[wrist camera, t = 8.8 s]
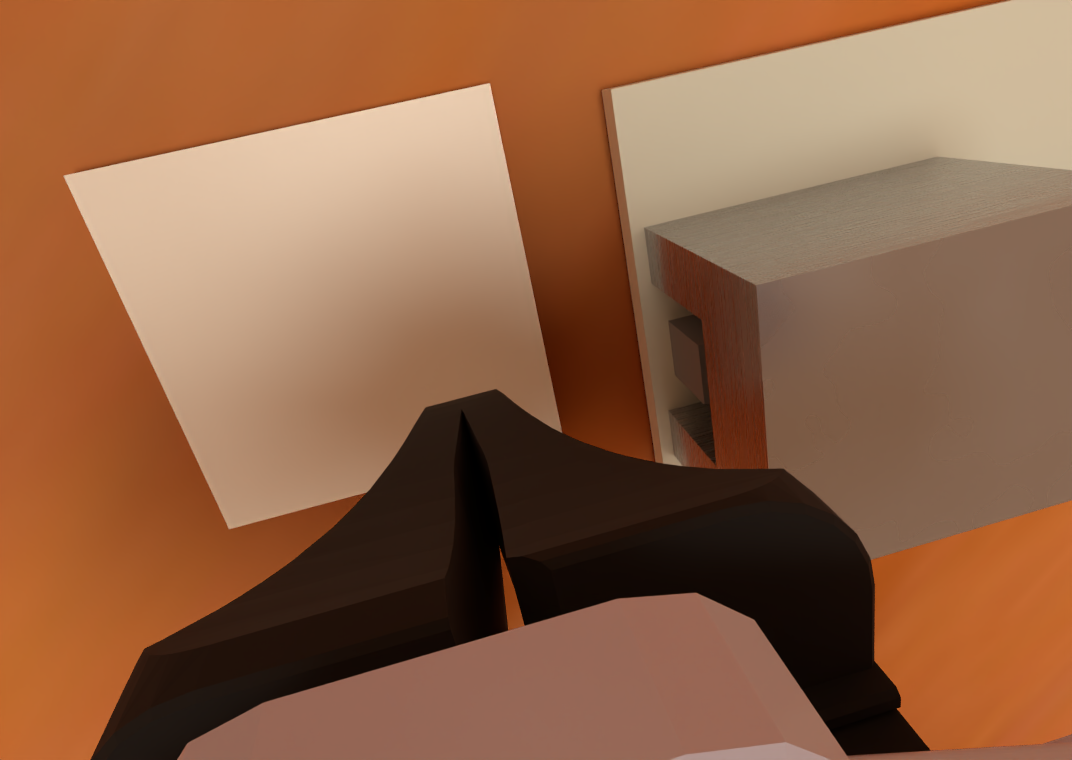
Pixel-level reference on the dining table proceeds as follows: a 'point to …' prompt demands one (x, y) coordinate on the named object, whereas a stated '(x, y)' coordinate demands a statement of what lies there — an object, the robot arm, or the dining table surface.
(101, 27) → the dining table surface
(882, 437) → the clip
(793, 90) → the rail board
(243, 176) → the pad
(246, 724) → the robot arm
